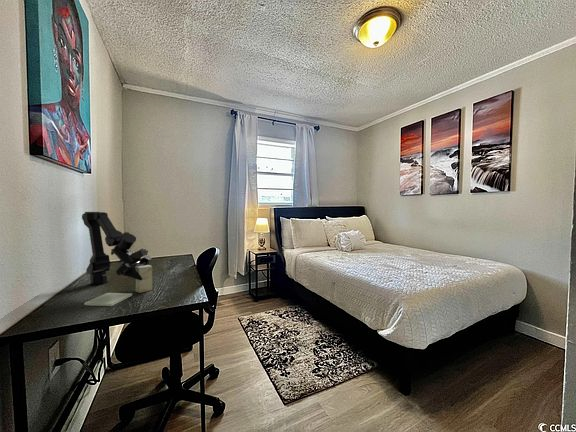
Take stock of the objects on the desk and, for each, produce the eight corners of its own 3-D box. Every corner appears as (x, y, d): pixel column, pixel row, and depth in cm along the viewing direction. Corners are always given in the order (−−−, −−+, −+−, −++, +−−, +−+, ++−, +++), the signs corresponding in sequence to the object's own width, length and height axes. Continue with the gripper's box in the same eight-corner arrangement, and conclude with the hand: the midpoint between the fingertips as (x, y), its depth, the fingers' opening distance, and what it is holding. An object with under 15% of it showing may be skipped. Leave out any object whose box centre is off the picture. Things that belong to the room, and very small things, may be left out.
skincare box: (139, 293, 114) (138, 268, 114) (135, 291, 117) (134, 266, 116) (152, 289, 119) (152, 265, 119) (149, 288, 122) (148, 264, 121)
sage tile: (84, 305, 100) (84, 302, 100) (107, 294, 112) (107, 292, 112) (111, 305, 99) (111, 303, 99) (132, 295, 111) (132, 293, 111)
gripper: (121, 246, 108) (145, 271, 108) (148, 241, 127) (168, 262, 126) (105, 263, 109) (128, 287, 108) (134, 255, 127) (154, 276, 127)
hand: (146, 277), depth 118 cm, fingers closed on skincare box, 7 cm apart
